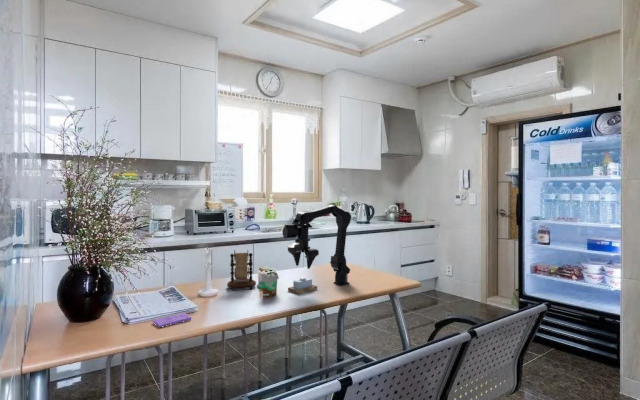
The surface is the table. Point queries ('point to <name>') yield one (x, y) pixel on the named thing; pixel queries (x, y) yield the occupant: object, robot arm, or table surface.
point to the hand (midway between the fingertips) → (302, 267)
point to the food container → (270, 284)
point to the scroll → (241, 271)
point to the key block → (302, 283)
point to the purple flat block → (172, 319)
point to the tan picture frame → (302, 289)
